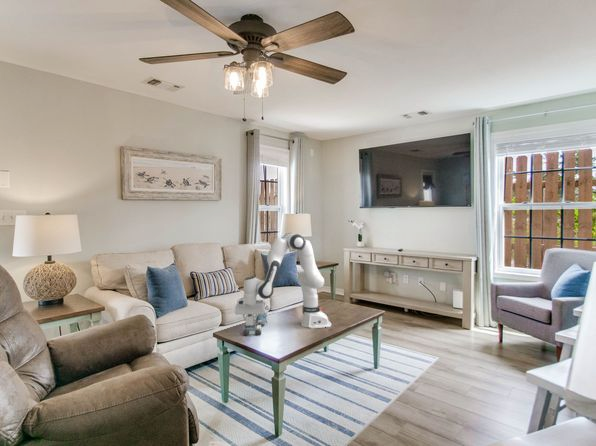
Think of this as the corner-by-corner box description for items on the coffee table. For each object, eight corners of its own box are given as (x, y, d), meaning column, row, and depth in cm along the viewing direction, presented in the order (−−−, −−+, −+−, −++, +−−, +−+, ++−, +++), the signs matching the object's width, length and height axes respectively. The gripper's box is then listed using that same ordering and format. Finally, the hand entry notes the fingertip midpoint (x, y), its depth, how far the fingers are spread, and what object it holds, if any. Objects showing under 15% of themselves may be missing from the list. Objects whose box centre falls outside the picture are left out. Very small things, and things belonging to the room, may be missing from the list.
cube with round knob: (253, 323, 233) (253, 313, 232) (253, 325, 228) (253, 315, 227) (246, 323, 232) (246, 313, 232) (246, 325, 227) (246, 315, 227)
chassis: (261, 330, 236) (261, 323, 236) (261, 335, 225) (261, 329, 225) (244, 330, 236) (244, 323, 235) (243, 336, 224) (243, 329, 224)
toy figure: (266, 329, 237) (266, 308, 237) (251, 328, 239) (251, 307, 239) (272, 322, 253) (272, 302, 253) (259, 321, 255) (259, 302, 255)
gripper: (265, 299, 233) (265, 318, 234) (235, 299, 232) (235, 319, 233) (265, 301, 227) (264, 321, 227) (234, 301, 226) (234, 322, 226)
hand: (250, 320), depth 230 cm, fingers closed on cube with round knob, 5 cm apart
